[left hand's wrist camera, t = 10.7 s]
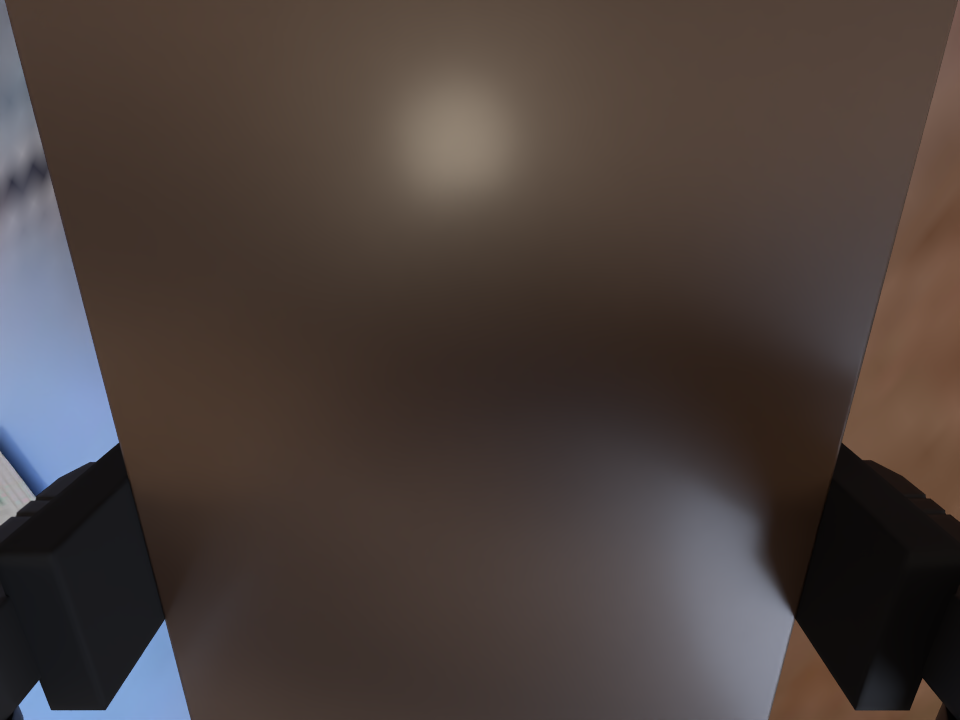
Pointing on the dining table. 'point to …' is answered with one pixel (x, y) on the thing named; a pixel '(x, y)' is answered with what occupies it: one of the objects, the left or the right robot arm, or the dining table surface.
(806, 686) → the dining table surface
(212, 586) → the taupe rectangular box
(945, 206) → the dining table surface
